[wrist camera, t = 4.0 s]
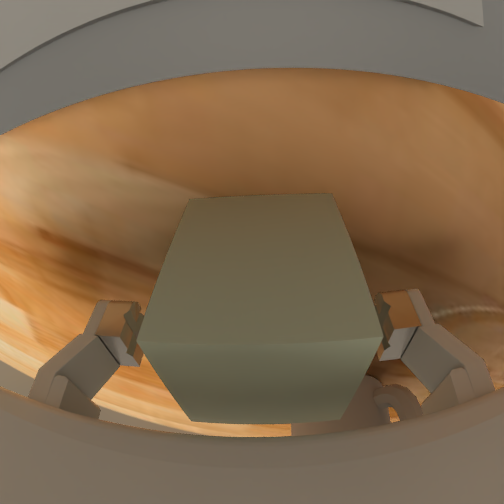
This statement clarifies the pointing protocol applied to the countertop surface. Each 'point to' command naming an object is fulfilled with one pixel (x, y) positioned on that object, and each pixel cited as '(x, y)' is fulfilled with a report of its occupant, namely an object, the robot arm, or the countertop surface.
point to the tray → (236, 44)
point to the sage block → (261, 311)
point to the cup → (367, 409)
